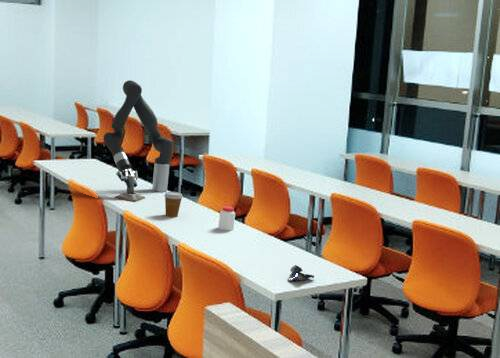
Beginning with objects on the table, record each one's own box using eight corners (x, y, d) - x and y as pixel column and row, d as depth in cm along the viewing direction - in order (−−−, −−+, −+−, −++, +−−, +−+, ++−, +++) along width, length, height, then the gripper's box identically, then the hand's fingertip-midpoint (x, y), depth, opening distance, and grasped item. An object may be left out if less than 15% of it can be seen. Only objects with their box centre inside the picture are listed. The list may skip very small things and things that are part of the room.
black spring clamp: (278, 275, 260) (291, 284, 250) (282, 260, 260) (296, 268, 249) (303, 279, 265) (317, 288, 255) (307, 264, 265) (321, 273, 254)
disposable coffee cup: (159, 215, 338) (161, 192, 336) (168, 212, 347) (170, 190, 345) (175, 218, 335) (177, 196, 333) (183, 215, 344) (186, 193, 342)
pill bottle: (222, 230, 321) (224, 209, 320) (215, 226, 328) (218, 205, 326) (236, 230, 325) (238, 209, 323) (229, 226, 332) (231, 205, 330)
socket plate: (123, 194, 379) (124, 189, 379) (144, 198, 377) (145, 193, 376) (114, 198, 367) (114, 193, 366) (135, 201, 364) (136, 196, 364)
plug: (128, 191, 373) (129, 174, 372) (134, 192, 373) (136, 175, 371) (125, 192, 370) (127, 175, 368) (131, 193, 369) (133, 176, 367)
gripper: (115, 158, 368) (125, 183, 362) (135, 158, 378) (146, 182, 372) (108, 165, 372) (119, 190, 366) (128, 165, 383) (139, 189, 377)
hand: (132, 186), depth 369 cm, fingers closed on plug, 4 cm apart
